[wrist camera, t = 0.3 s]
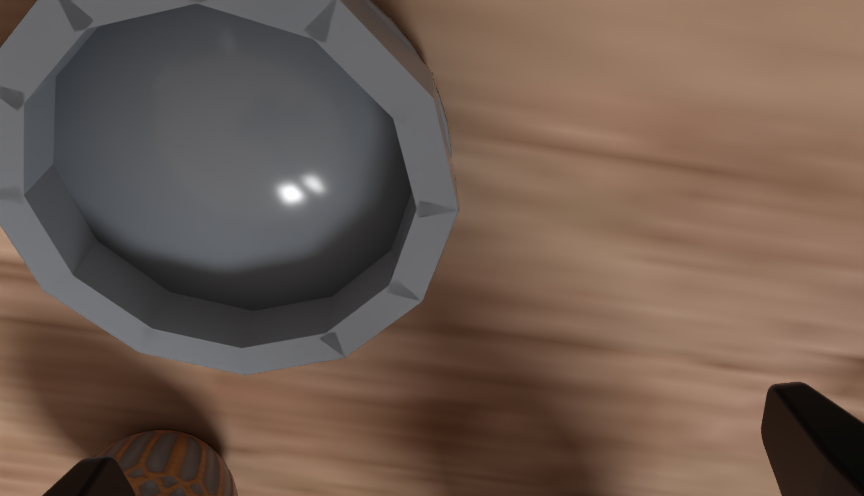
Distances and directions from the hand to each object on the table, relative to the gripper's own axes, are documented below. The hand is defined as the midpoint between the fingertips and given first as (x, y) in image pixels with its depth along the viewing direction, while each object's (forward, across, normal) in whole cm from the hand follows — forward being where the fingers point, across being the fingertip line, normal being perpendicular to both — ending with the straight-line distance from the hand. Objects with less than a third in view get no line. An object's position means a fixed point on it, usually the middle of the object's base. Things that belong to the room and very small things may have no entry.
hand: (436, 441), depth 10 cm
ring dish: (+14, +6, +2) cm, 15 cm away
